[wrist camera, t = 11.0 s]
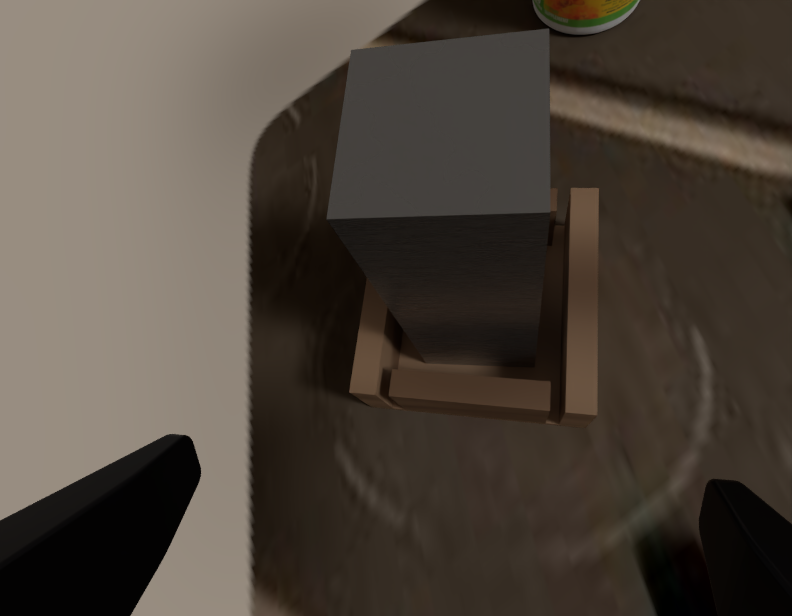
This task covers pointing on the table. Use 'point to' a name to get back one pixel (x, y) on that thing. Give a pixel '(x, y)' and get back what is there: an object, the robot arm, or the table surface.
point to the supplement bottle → (583, 14)
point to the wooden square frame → (501, 385)
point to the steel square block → (450, 190)
